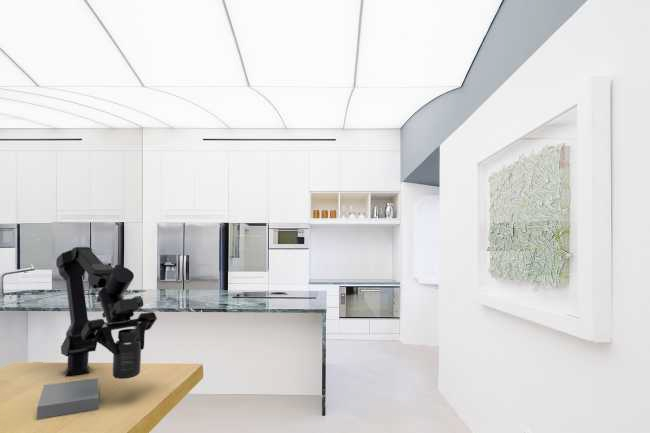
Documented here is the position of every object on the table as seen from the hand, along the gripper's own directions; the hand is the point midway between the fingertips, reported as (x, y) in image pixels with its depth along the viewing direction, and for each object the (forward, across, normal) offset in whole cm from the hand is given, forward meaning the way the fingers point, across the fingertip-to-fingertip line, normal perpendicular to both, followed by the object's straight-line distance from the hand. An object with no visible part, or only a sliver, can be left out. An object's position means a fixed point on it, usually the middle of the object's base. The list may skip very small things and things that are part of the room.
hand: (129, 351), depth 111 cm
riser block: (+2, -10, +16) cm, 20 cm away
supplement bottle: (+4, 0, +6) cm, 7 cm away
